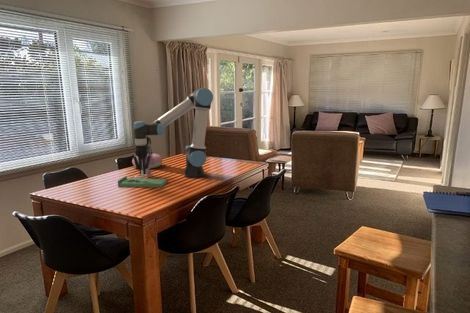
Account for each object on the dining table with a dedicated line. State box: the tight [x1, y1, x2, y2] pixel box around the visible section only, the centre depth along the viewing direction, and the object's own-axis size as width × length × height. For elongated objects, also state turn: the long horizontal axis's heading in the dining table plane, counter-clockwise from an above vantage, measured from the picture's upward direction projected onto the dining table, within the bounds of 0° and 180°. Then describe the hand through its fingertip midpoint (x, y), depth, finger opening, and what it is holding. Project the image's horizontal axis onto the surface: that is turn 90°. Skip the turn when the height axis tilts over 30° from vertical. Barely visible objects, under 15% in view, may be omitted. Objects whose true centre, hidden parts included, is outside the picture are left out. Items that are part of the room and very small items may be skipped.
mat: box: [117, 175, 168, 188], centre depth 224 cm, size 30×12×4 cm, turn 84°
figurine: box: [142, 135, 155, 178], centre depth 243 cm, size 22×10×30 cm, turn 168°
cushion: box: [131, 153, 164, 170], centre depth 277 cm, size 25×25×10 cm
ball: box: [133, 174, 141, 181], centre depth 224 cm, size 4×4×4 cm
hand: (143, 178), depth 224 cm, fingers closed
